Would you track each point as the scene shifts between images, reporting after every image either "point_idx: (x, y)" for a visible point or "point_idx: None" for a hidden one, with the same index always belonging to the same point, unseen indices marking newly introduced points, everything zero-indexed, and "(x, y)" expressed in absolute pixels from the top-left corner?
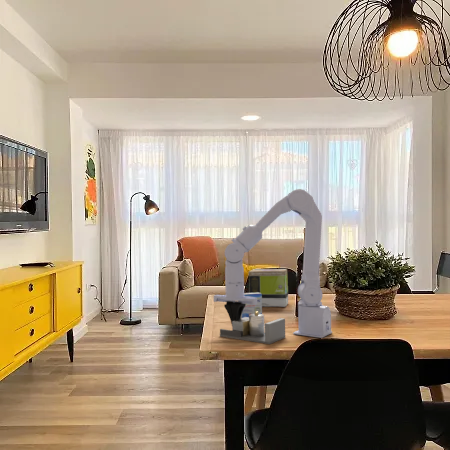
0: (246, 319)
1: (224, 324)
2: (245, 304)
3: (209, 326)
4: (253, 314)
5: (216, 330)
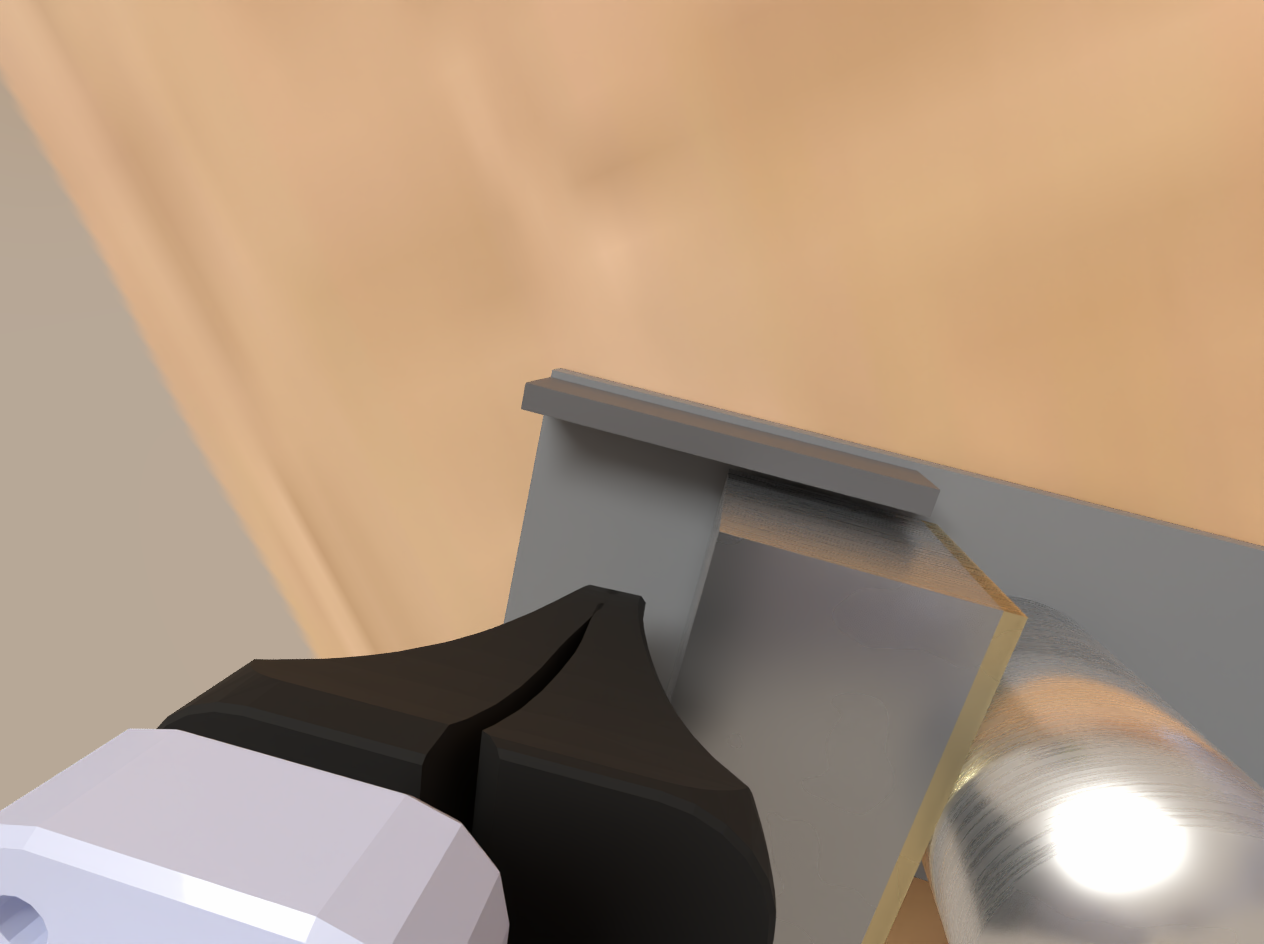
0: (831, 771)
1: (220, 30)
2: (772, 883)
3: (121, 254)
4: (1072, 925)
5: (315, 448)
